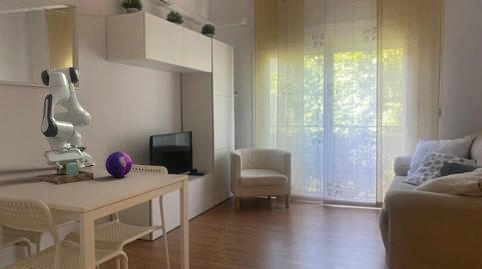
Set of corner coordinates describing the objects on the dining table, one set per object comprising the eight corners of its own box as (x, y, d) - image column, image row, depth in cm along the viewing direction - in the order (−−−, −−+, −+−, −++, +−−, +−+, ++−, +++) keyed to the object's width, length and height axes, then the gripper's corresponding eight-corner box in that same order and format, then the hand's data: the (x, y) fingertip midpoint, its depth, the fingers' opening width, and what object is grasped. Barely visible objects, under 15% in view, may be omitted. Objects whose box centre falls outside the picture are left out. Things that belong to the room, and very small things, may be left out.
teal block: (75, 176, 209) (74, 162, 208) (78, 177, 206) (78, 163, 206) (66, 177, 205) (66, 163, 204) (69, 178, 202) (69, 164, 202)
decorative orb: (121, 173, 226) (121, 149, 225) (137, 176, 217) (137, 151, 216) (100, 177, 213) (99, 152, 212) (116, 180, 205) (115, 153, 204)
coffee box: (55, 173, 222) (55, 147, 222) (61, 172, 228) (61, 147, 228) (70, 173, 221) (69, 147, 221) (75, 172, 227) (75, 147, 227)
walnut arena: (78, 175, 218) (78, 169, 218) (93, 179, 208) (93, 173, 207) (44, 180, 203) (44, 174, 203) (59, 184, 192) (59, 177, 192)
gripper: (44, 147, 204) (52, 166, 199) (79, 145, 220) (88, 162, 215) (40, 155, 207) (49, 174, 202) (75, 151, 223) (84, 169, 218)
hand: (69, 168), depth 208 cm, fingers open, 8 cm apart
